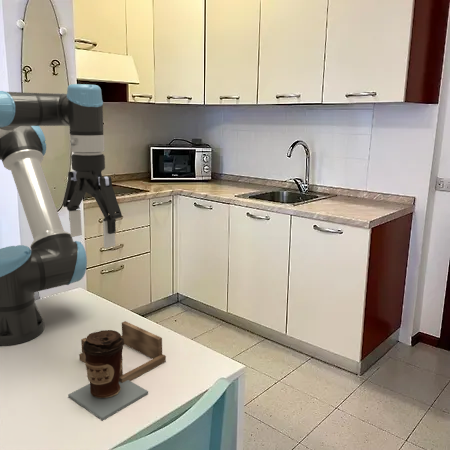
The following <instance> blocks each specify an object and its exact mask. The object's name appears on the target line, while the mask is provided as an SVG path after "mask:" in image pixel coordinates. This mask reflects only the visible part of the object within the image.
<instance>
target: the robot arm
mask: <svg viewBox="0 0 450 450" xmlns="http://www.w3.org/2000/svg"><path fill="white" fill-rule="evenodd" d="M66 91H67V92H66V93H49V92H48V93H47V92H24V91H23V92H20V91H19V92H17V91H4V90H0V161H1V162H2V164H3V167H4V168H5V170H8V171H11V174H12V178H13V180H14V183H15V187H16V190H17V193H18V196H19V200H20V202H21V204H22V208H23V211H24V214H25V216H26V220H27V224H28V226H29V229H30V232H31V235H32V238H33V241H32V243H31V244H30V247H29V246H27V245H22V244H18V245H10V246H6V247H1V248H0V346H12V345H13V346H14V345H18V344H22V343H25V342H28V341H31V340H33V339H36V338H37V337H39V336H40V335H41V334H42V333H43V332H44V330H45V327H44V325H45V323H44V318H43V316H42V314H41V313H40V310H39V308H38V306H37V304H36V299H35V293H37V292H41V291H47V290H49V289H54V288H58V287H62V286H63V287H64V286H69V285H71V284H74V283H76V282H79V281H81V280H83V279H84V277H85V275H86V271H87V264H88V263H87V262H88V259H87V252H86V249H85V246H84V244H83V243H82V242H81V241H77V240H74V239H73V238H74V237H79V236H82V235H83V233H82V232H83V231H82V215H81V214H82V213H81V207H80V205H81V204H82V201H83V199H84V198H85V195H86V193H87V194H88V195H91V197H92V198H94V200H95V201H96V204H97V205H98V207H99V209H100V212H101V213H102V215H103V217H104V218H103V219H102V231H103V233H102V235H103V248H105V249H107V248H110V247H116V233H117V232H116V231H117V230H116V228H117V227H116V225H117V224H116V220H117V219H119V218H122V216H123V215H122V211H121V208H120V205H119V202H118V199H117V197H116V194H115V191H114V187H113V182H112V177H111V175H109V176H108V175H107V176H106V175H105V176H103V175H102V172H103V171H104V170H105V169H106V157H105V154H104V152H105V150H106V149H105V135H104V107H103V106H104V101H103V95H102V89H101V87H100V86H99V85H96V84H87V83H86V84H85V83H83V84H81V83H72V84H71V83H70V84H69V85H68V86H67V89H66ZM59 126H60V127H64V126H65V127H69V134H70V135H69V136H70V140H69V141H70V152H72V153H73V154H72V155H71V157H70V160H71V169H72V171H68V173H67V184H66V188H65V193H64V197H63V200H62V207H64V208H66V209H67V211H68V219H69V228H70V233H69V232H68V231H65V230H64V227H63V224H62V221H61V219H60V215H59V213H58V209H57V208H56V204H55V202H54V199H53V196H52V192H51V189H50V188H49V184H48V182H47V178H46V176H45V172H44V169H43V167H42V164H41V163H42V161H43V160H44V156H45V155H46V152H47V143H46V137H45V134H44V132H43V130H42V128H41V127H59Z"/></svg>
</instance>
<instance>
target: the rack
mask: <svg viewBox="0 0 450 450" xmlns="http://www.w3.org/2000/svg"><path fill="white" fill-rule="evenodd" d="M121 337H122V338H123V339H124V345H123V346H126V347H129V348H131V349H133V350H134V351H136V352H139V353H140V354H143V355H144V356H146V357H148V358H150V360H149V361H146V362H144V363H142V364H141V365H139V366H137V367H135V368H133V369H132V370H129V371H127V372H125V373H124V371H123V366H122V371H121V373H120V377H119V381H120V382H121V383H123V382H125V381H127V380H129V381H131V382H132V381H133V380H135V379H137V378H138V377H140V376H142V375H144V374H145V373H148V372H150V371H151V370H154V369H155V368H156V367H158V366H161V365H163V364H165V363H166V361H167V359H166V357H167V356H166V355H165V354H163V337H161V336H159V335H157V334H154V333H152V332H149V330H146V329H143V328H141V327H139V326H138V325H134V324H132V323H131V322H128V321H126V320H124V321H123V322H121ZM86 338H87V337H84V338H82V339H80V342H81V352H80V354H78V355H79V361H81V363H84V364H85V365H86V363H85V359H86V356H85V353H84V350H83V345H84V342H85V341H86Z"/></svg>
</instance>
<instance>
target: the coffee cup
mask: <svg viewBox="0 0 450 450" xmlns="http://www.w3.org/2000/svg"><path fill="white" fill-rule="evenodd" d="M121 336H122V333H120V332H119V331H117V330H112V329H105V330H100V331H94V332H92V333H89V334H88V335H87V336H86V337H85V338H86V341H85V342H84V345H83V350H84V353H85V356H86V359H85V363H86V364H85V363H84V364H85V369H86V377H87V380H88V382H89V384H90V392H91V394H92V395H93V396H95V397H97V398H107V397H112V396H114V395H117V394H118V393H119V392H120V389H121V388H120V385H119V377H120V373H121V371H122V367H123V360H124V359H123V350H124V346H125V345H124V339H123V338H122V337H121Z"/></svg>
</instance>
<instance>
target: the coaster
mask: <svg viewBox="0 0 450 450" xmlns="http://www.w3.org/2000/svg"><path fill="white" fill-rule="evenodd" d="M119 385H120V388H121V389H120V392H119V393H118V394H117V395H114V396H112V397H107V398H97V397H95V396H93V395H92V394H91V392H90V383H88V384H86V385H85V386H84V385H83V387H80V388H78V389H77V390H75V391H72V392H70V393H68V395H67V396H68V398H69V399H71V400H72V401H73V402H75V403H76V404H78V405H79V406H80V407H82V408H83V409H85V410H86V411H87V412H90V413H91V414H92V415H94V416H95V417H97V418H98V419H99V420H101V421H103V422H104V420H106V419H107V418H110V417H112V416H113V415H114V414H116V413H118V412H120V411H122V410H123V409H125V408H126V407H128V406H130V405H131V404H133V403H135V402H136V401H138V400H140V399H142V398H143V397H145V396H147V395H148V394H149V391H148V390H147V389H145V388H143V387H141V386H140V385H139V384H136V383H135V382H132V380H131V381H129V380H127V381H125V382H123V383H121V382H120V381H119Z"/></svg>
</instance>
